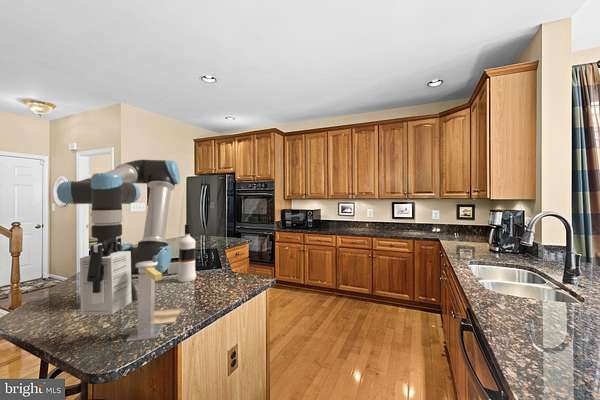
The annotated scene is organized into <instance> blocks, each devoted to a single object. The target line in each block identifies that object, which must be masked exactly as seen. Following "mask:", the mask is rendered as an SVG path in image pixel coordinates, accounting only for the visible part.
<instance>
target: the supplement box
mask: <svg viewBox="0 0 600 400" xmlns="http://www.w3.org/2000/svg"><path fill="white" fill-rule="evenodd" d="M90 255H91V254H90ZM90 255H87V256H82V257H80V258H79V275H80V276H79V279H80V280H79V281H80V282H79V288H80V293H79V294H80V297H79V298H80V316H94V315H95V316H97V315H98V316H99V315H101V316H102V315H105V316H107V315H109V316H110V315H114V314H116V312H119V311H120V310H121V309H123V308H125V307H126V306H128V305H129V304H131V303H132V301H133V300H132V296H131V251H118V252H113V253H111V254H110V256H107V257H102V263H101V265H104V275H103V279H102V280H104V303H99V304H92V282H88V281H87V276H88V269H89V262H90Z"/></svg>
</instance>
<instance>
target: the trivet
mask: <svg viewBox="0 0 600 400" xmlns="http://www.w3.org/2000/svg"><path fill="white" fill-rule="evenodd" d="M181 311H182V307H176V308H166V309H158V310H155V309H154V325H155V324H164V326H165V325H174V324H175V322H176V321H177V319H178V317H179V315H180V313H181ZM137 326H138V321H137V322H136V324H135V325H134V329H135V328H136V327H137Z"/></svg>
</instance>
